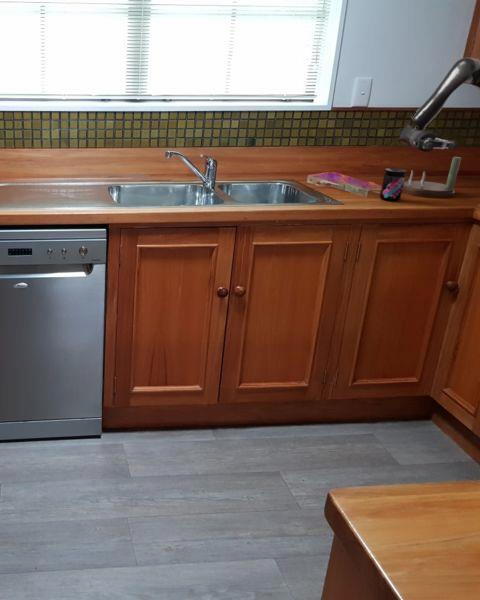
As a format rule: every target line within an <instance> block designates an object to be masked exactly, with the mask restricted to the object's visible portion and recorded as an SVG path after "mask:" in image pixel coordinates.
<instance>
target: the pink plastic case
mask: <svg viewBox="0 0 480 600" xmlns="http://www.w3.org/2000/svg"><path fill="white" fill-rule="evenodd" d="M306 179H307V180H306V182H307V183H310V184H313V185H315V186H319V187H322V186H324V187H325V188H328V186H326V185H328V184H330V188H336V189H337V188H338V189H339V190H342V191H345V192H349V191H351V194H355V195H358V196H359V195H360V196H361V197H365V198H368V192H372V193H373V192H374V193H376V194H380V193H381V188H382V184H381V185H380V184H378V183H376V182H373V181H365V180H361V179H357V178H355V177H352V176H349V175H344V174H343V173H338V172H335V171H334V172H331V171H325V172H320V173H314V174H308V175H307V178H306ZM318 182H320V184H318ZM360 190H361V191H360Z"/></svg>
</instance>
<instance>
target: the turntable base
mask: <svg viewBox="0 0 480 600" xmlns="http://www.w3.org/2000/svg"><path fill="white" fill-rule="evenodd" d="M403 192H404V193H403ZM402 193H403V194H406V193H408V194H407V195H410V194H412V195H411V196H414V195H416V196H415V197H420V196H421V197H422V198H429V199H450V198H453V197H455V193H456V191H455V190H454V191H453V192H452V193H426V192H419V191H413V190H409V189H406V188H404V187H403V189H402Z"/></svg>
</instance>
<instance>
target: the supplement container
mask: <svg viewBox="0 0 480 600" xmlns="http://www.w3.org/2000/svg"><path fill="white" fill-rule="evenodd" d="M407 171H408V170H406V169H402V168H395V167H394V168H393V167H391V168H390V167H389V168H387V167H386V168H385V170H384V175H383V180H382V184H381V186H382V188H380V193H379V198H380V200H382V201H384V202H385V201H386V202H399V201H401V198H402V194H403V192H402V189H403V185H404V182H406V181H405V180H406V176H407Z"/></svg>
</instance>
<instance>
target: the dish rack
mask: <svg viewBox="0 0 480 600" xmlns="http://www.w3.org/2000/svg"><path fill="white" fill-rule="evenodd" d="M461 160H462V157H460V156H453V157H452V159H451V164H450V168H449V171H448V175H447V179H446V183H445V184H444V183H440V182H436V181H435V182H434V181H425V180H426V171H424V170H423V172H422V176H421V180H413V178H414V170H410V171H411V172H410V176H409V178H408V180H407V181H404V185H403V187H404V188H406V189H409V190H413V191H419V192H426V193H452V192H453V191H455V184H456V180H457V176H458V173H459V169H460V165H461Z"/></svg>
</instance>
